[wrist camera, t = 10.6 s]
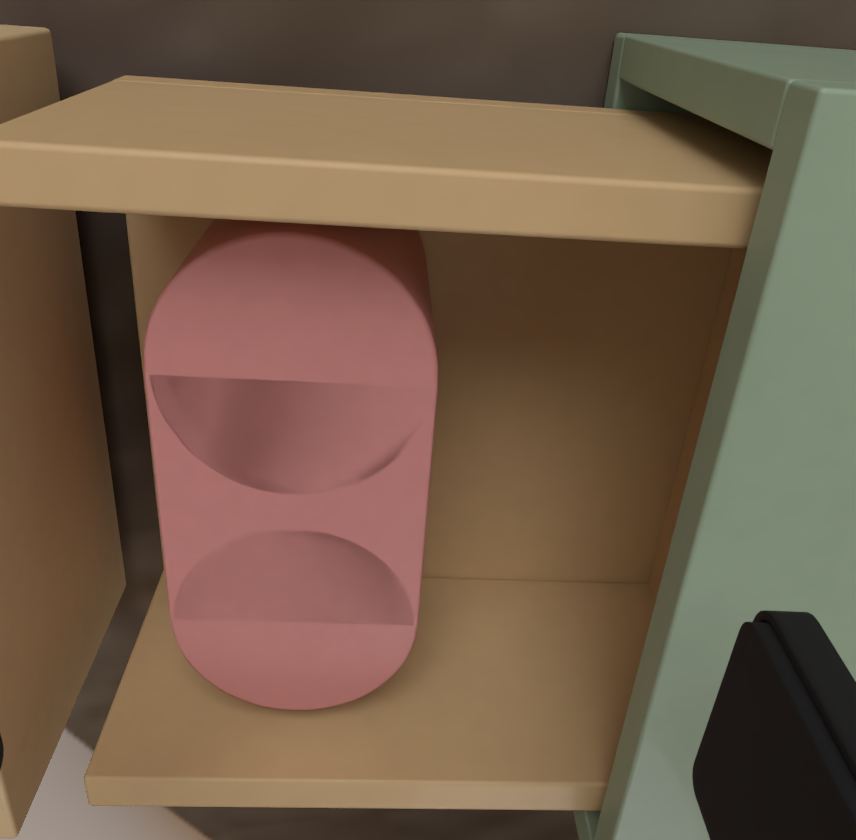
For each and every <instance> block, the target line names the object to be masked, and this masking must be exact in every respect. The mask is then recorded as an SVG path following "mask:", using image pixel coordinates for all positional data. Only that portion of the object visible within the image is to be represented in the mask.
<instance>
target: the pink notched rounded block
mask: <svg viewBox="0 0 856 840" xmlns="http://www.w3.org/2000/svg"><path fill="white" fill-rule="evenodd" d="M143 356H144V379H145V389H146V398H147V408H148V417H149V426H150V436H151V445H152V455H153V464H154V473H155V483H156V492H157V502H158V511H159V520H160V530H161V539H162V549H163V558H164V567H165V577H166V586H167V596H168V605H169V614H170V619H171V624H172V630H173V633H174V636H175V639H176V642H177V644H178V646H179V648H180V650H181V652H182V653H183V655H184V657H185V658H186V659H187V661H188V662H189V663H190V665H191V666H192V667H193V668H194V669H195V670H196V671H197V672H198V673H199V674H200V675H201V676H202V677H203V678H205V679H206V680H207V681H209V682H210V683H211V684H212V685H214V686H216V687H217V688H219V689H220V690H222V691H224V692H225V693H228V694H230V695H232V696H234V697H236V698H238V699H241V700H244V701H246V702H249V703H252V704H256V705H260V706H264V707H269V708H275V709H282V710H315V709H323V708H329V707H333V706H338V705H342V704H345V703H348V702H351V701H354V700H356V699H358V698H360V697H363V696H365V695H367V694H369V693H370V692H372V691H374V690H375V689H377V688H379V687H380V686H381V685H383V684H384V683H385V682H386V681H388V680H389V679H390V678H391V677H392V676H393V675H394V674H395V673H396V672H397V671H398V670H399V668H400V667H401V666H402V664H403V663H404V662H405V660H406V659H407V657H408V655H409V653H410V651H411V649H412V647H413V644H414V641H415V638H416V635H417V629H418V622H419V610H420V598H421V586H422V574H423V562H424V550H425V538H426V526H427V514H428V502H429V490H430V478H431V466H432V454H433V442H434V430H435V418H436V406H437V394H438V374H439V363H438V355H437V347H436V338H435V330H434V322H433V313H432V305H431V297H430V288H429V280H428V271H427V264H426V256H425V252H424V248H423V245H422V241H421V239H420V236H419V234H418V232H417V230H406V229H388V228H371V227H354V226H336V225H319V224H301V223H284V222H266V221H249V220H231V219H214V220H213V221H212V223H211V224H210V225H209V227H208V228H207V230H206V231H205V232H204V234H203V235H202V237H201V238H200V239H199V241H198V242H197V244H196V245H195V246H194V248H193V249H192V250H191V252H190V253H189V255H188V256H187V257H186V259H185V260H184V262H183V263H182V264H181V266H180V267H179V269H178V270H177V271H176V273H175V274H174V275H173V277H172V278H171V280H170V281H169V282H168V284H167V285H166V287H165V288H164V290H163V291H162V293H161V295H160V296H159V298H158V299H157V301H156V304H155V306H154V308H153V310H152V313H151V315H150V318H149V322H148V325H147V329H146V332H145V340H144V349H143Z"/></svg>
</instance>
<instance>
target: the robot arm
mask: <svg viewBox="0 0 856 840" xmlns="http://www.w3.org/2000/svg"><path fill="white" fill-rule="evenodd" d="M3 756H4V747H3V741H2V737H1V734H0V770H1V766H2V762H3ZM692 779H693V788H694V793H695V796H696V800H697V802H698V805H699V808H700V811H701V814H702V817H703V820H704V823H705V826H706V829H707V832H708V835H709V838H710V840H856V681H855V680H854V678H853V677H852V675H851V673H850V672H849V670H848V668H847V667H846V665H845V664H844V662H843V660H842V659H841V657H840V656H839V654H838V652H837V651H836V649H835V647H834V646H833V644H832V643H831V641H830V639H829V638H828V636H827V634H826V633H825V631H824V630H823V628H822V626H821V625H820V623H819V622H818V620H817V619H816V618H815V617H814V615H812V614H810V613H808V612H794V611H768V610H764V611H760V612H759V613H757V614H756V616H755V618H754V620H753V622H745V623H743V624H742V626H741V628H740V630H739V633H738V636H737V639H736V642H735V644H734V647H733V650H732V653H731V656H730V659H729V662H728V665H727V668H726V671H725V674H724V677H723V679H722V682H721V685H720V688H719V691H718V694H717V697H716V700H715V703H714V706H713V709H712V712H711V714H710V717H709V720H708V723H707V726H706V729H705V732H704V735H703V738H702V741H701V744H700V747H699V749H698V752H697V755H696V758H695V761H694V765H693V772H692Z"/></svg>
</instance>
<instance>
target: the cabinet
mask: <svg viewBox="0 0 856 840" xmlns="http://www.w3.org/2000/svg"><path fill="white" fill-rule="evenodd" d="M604 108H611V109H626V110H640V111H655V112H669V113H684V114H696V115H698V116H701V117H703V118H705V119H707V120H709V121H711V122H713V123H716V124H718V125H720V126H722V127H724V128H726V129H728V130H731V131H733V132H735V133H737V134H739V135H741V136H743V137H746V138H748V139H750V140H752V141H754V142H756V143H758V144H761V145H763V146H765V147H767V148H769V149H771V150H773V152H772V156H771V160H770V164H769V167H768V171H767V175H766V179H765V183H764V187H763V191H762V194H761V198H760V202H759V206H758V210H757V214H756V217H755V221H754V225H753V229H752V233H751V237H750V240H749V244H748V248H747V252H746V256H745V260H744V264H743V267H742V271H741V275H740V279H739V283H738V287H737V290H736V294H735V298H734V302H733V306H732V310H731V313H730V317H729V321H728V325H727V329H726V333H725V337H724V340H723V344H722V348H721V352H720V356H719V360H718V363H717V367H716V371H715V375H714V379H713V383H712V386H711V390H710V394H709V398H708V402H707V406H706V410H705V413H704V417H703V421H702V425H701V429H700V433H699V436H698V440H697V444H696V448H695V452H694V456H693V459H692V463H691V467H690V471H689V475H688V479H687V483H686V486H685V490H684V494H683V498H682V502H681V506H680V509H679V513H678V517H677V521H676V525H675V529H674V533H673V536H672V540H671V544H670V548H669V552H668V556H667V559H666V563H665V567H664V571H663V575H662V579H661V582H660V586H659V590H658V594H657V598H656V602H655V606H654V609H653V613H652V617H651V621H650V625H649V629H648V632H647V636H646V640H645V644H644V648H643V652H642V655H641V659H640V663H639V667H638V671H637V675H636V679H635V682H634V686H633V690H632V694H631V698H630V702H629V705H628V709H627V713H626V717H625V721H624V725H623V728H622V732H621V736H620V740H619V744H618V748H617V752H616V755H615V759H614V763H613V767H612V771H611V775H610V778H609V782H608V786H607V790H606V794H605V798H604V802H603V805H602V809H601V811H592V810H573V813H574V818H575V823H576V827H577V832H578V836H579V840H710V838H709V835H708V832H707V829H706V826H705V823H704V820H703V817H702V814H701V811H700V808H699V805H698V802H697V800H696V796H695V793H694V788H693V779H692V772H693V765H694V761H695V758H696V755H697V752H698V749H699V747H700V744H701V741H702V738H703V735H704V732H705V729H706V726H707V723H708V720H709V717H710V714H711V712H712V709H713V706H714V703H715V700H716V697H717V694H718V691H719V688H720V685H721V682H722V679H723V677H724V674H725V671H726V668H727V665H728V662H729V659H730V656H731V653H732V650H733V647H734V644H735V642H736V639H737V636H738V633H739V630H740V628H741V626H742V624H743V623H745V622H753V620H754V618H755V616H756V614H757V613H759V612H760V611H764V610H768V611H794V612H808V613H810V614H812V615H814V617H815V618H816V619H817V620H818V622H819V623H820V625H821V626H822V628H823V630H824V631H825V633H826V634H827V636H828V638H829V639H830V641H831V643H832V644H833V646H834V647H835V649H836V651H837V652H838V654H839V656H840V657H841V659H842V660H843V662H844V664H845V665H846V667H847V668H848V670H849V672H850V673H851V675H852V677H853V678H854V680H855V681H856V50H846V49H832V48H819V47H806V46H792V45H779V44H765V43H752V42H739V41H725V40H712V39H699V38H685V37H672V36H658V35H645V34H632V33H618V34H617V35H616V37H615V42H614V48H613V54H612V60H611V66H610V73H609V79H608V85H607V91H606V97H605V104H604Z"/></svg>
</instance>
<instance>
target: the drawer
mask: <svg viewBox="0 0 856 840" xmlns="http://www.w3.org/2000/svg"><path fill="white" fill-rule="evenodd" d="M772 152H773V150H771V149H769V148H767V147H765V146H763V145H761V144H758V143H756V142H754V141H752V140H750V139H748V138H746V137H743V136H741V135H739V134H737V133H735V132H733V131H731V130H728V129H726V128H724V127H722V126H720V125H718V124H716V123H713V122H711V121H709V120H707V119H705V118H703V117H701V116H698V115H696V114H684V113H669V112H655V111H640V110H626V109H611V108H596V107H582V106H567V105H552V104H538V103H523V102H509V101H494V100H479V99H465V98H450V97H435V96H421V95H406V94H392V93H377V92H362V91H348V90H333V89H318V88H304V87H289V86H275V85H260V84H245V83H231V82H216V81H201V80H187V79H172V78H158V77H143V76H128V75H125V76H122V77H120V78H117V79H115V80H112V81H111V82H108V83H106V84H103V85H100V86H98V87H95V88H93V89H90V90H88V91H85V92H82V93H80V94H77V95H75V96H72V97H69V98H67V99H64V100H62V101H60V95H59V87H58V80H57V73H56V65H55V58H54V51H53V43H52V36H51V32H50V30H49V29H47V28H42V27H28V26H14V25H0V734H1V737H2V741H3V747H4V756H3V762H2V766H1V770H0V838H15V837H16V836H17V835H18V834H19V831H20V829H21V827H22V824H23V822H24V820H25V818H26V815H27V813H28V811H29V808H30V806H31V804H32V801H33V799H34V797H35V794H36V792H37V790H38V788H39V785H40V783H41V781H42V778H43V776H44V774H45V771H46V769H47V767H48V764H49V762H50V759H51V758H52V755H53V753H54V751H55V748H56V746H57V744H58V741H59V739H60V737H61V734H62V732H63V730H64V728H65V725H66V723H67V721H68V718H69V716H70V714H71V711H72V709H73V707H74V704H75V702H76V700H77V698H78V695H79V693H80V691H81V688H82V686H83V684H84V681H85V679H86V677H87V674H88V672H89V670H90V668H91V665H92V663H93V661H94V658H95V656H96V654H97V651H98V649H99V647H100V644H101V642H102V640H103V638H104V635H105V633H106V631H107V628H108V626H109V624H110V621H111V619H112V617H113V614H114V612H115V610H116V608H117V605H118V603H119V601H120V598H121V596H122V594H123V591H124V589H125V587H126V579H125V571H124V564H123V557H122V549H121V542H120V535H119V527H118V520H117V513H116V505H115V498H114V491H113V483H112V476H111V469H110V461H109V454H108V447H107V439H106V432H105V425H104V417H103V410H102V403H101V395H100V388H99V381H98V373H97V366H96V359H95V351H94V344H93V337H92V329H91V322H90V315H89V307H88V300H87V293H86V285H85V278H84V271H83V263H82V256H81V249H80V241H79V234H78V227H77V219H76V212H75V211H92V212H109V213H126V223H127V232H128V241H129V251H130V260H131V269H132V278H133V288H134V297H135V306H136V316H137V325H138V334H139V344H140V353H141V362H142V372H143V381H144V390H145V400H146V409H147V418H148V428H149V437H150V446H151V455H152V445H151V436H150V426H149V417H148V408H147V398H146V389H145V379H144V356H143V349H144V340H145V332H146V329H147V325H148V322H149V318H150V315H151V313H152V310H153V308H154V306H155V304H156V301H157V299H158V298H159V296H160V295H161V293H162V291H163V290H164V288H165V287H166V285H167V284H168V282H169V281H170V280H171V278H172V277H173V275H174V274H175V273H176V271H177V270H178V269H179V267H180V266H181V264H182V263H183V262H184V260H185V259H186V257H187V256H188V255H189V253H190V252H191V250H192V249H193V248H194V246H195V245H196V244H197V242H198V241H199V239H200V238H201V237H202V235H203V234H204V232H205V231H206V230H207V228H208V227H209V225H210V224H211V223H212V221H213V220H214V219H231V220H249V221H266V222H284V223H301V224H319V225H336V226H354V227H371V228H388V229H406V230H417V232H418V234H419V236H420V239H421V241H422V245H423V248H424V252H425V256H426V264H427V271H428V280H429V288H430V297H431V305H432V313H433V322H434V330H435V338H436V347H437V355H438V363H439V374H438V394H437V406H436V418H435V430H434V442H433V454H432V466H431V478H430V490H429V502H428V514H427V526H426V538H425V550H424V562H423V574H422V586H421V598H420V610H419V622H418V629H417V635H416V638H415V641H414V644H413V647H412V649H411V651H410V653H409V655H408V657H407V659H406V660H405V662H404V663H403V664H402V666H401V667H400V668H399V670H398V671H397V672H396V673H395V674H394V675H393V676H392V677H391V678H390V679H389V680H388V681H386V682H385V683H384V684H383V685H381V686H380V687H379V688H377V689H375V690H374V691H372V692H370V693H369V694H367V695H365V696H363V697H360V698H358V699H356V700H354V701H351V702H348V703H345V704H342V705H338V706H333V707H329V708H323V709H315V710H282V709H275V708H269V707H264V706H260V705H256V704H252V703H249V702H246V701H244V700H241V699H238V698H236V697H234V696H232V695H230V694H228V693H225V692H224V691H222V690H220V689H219V688H217V687H216V686H214V685H212V684H211V683H210V682H209V681H207V680H206V679H205V678H203V677H202V676H201V675H200V674H199V673H198V672H197V671H196V670H195V669H194V668H193V667H192V666H191V665H190V663H189V662H188V661H187V659H186V658H185V657H184V655H183V653H182V652H181V650H180V648H179V646H178V644H177V642H176V639H175V636H174V633H173V630H172V624H171V619H170V614H169V605H168V596H167V586H166V577H165V567H164V558H163V549H162V539H161V530H160V520H159V511H158V502H157V492H156V483H155V473H154V464H153V455H152V465H153V474H154V483H155V493H156V502H157V511H158V521H159V530H160V539H161V549H162V558H163V567H164V571H163V572H162V575H161V577H160V580H159V583H158V585H157V588H156V591H155V593H154V596H153V598H152V601H151V604H150V606H149V609H148V611H147V614H146V617H145V619H144V622H143V625H142V627H141V630H140V632H139V635H138V638H137V640H136V643H135V645H134V648H133V651H132V653H131V656H130V659H129V661H128V664H127V666H126V669H125V672H124V674H123V677H122V679H121V682H120V685H119V687H118V690H117V693H116V695H115V698H114V700H113V703H112V706H111V708H110V711H109V713H108V716H107V719H106V721H105V724H104V727H103V729H102V732H101V734H100V737H99V740H98V742H97V745H96V747H95V750H94V753H93V755H92V758H91V761H90V763H89V766H88V769H87V771H86V774H85V776H84V782H85V787H86V793H87V798H88V803H89V804H90V805H93V806H94V805H95V806H190V807H291V808H391V809H491V810H592V811H601V809H602V805H603V802H604V798H605V794H606V790H607V786H608V782H609V778H610V775H611V771H612V767H613V763H614V759H615V755H616V752H617V748H618V744H619V740H620V736H621V732H622V728H623V725H624V721H625V717H626V713H627V709H628V705H629V702H630V698H631V694H632V690H633V686H634V682H635V679H636V675H637V671H638V667H639V663H640V659H641V655H642V652H643V648H644V644H645V640H646V636H647V632H648V629H649V625H650V621H651V617H652V613H653V609H654V606H655V602H656V598H657V594H658V590H659V586H660V582H661V579H662V575H663V571H664V567H665V563H666V559H667V556H668V552H669V548H670V544H671V540H672V536H673V533H674V529H675V525H676V521H677V517H678V513H679V509H680V506H681V502H682V498H683V494H684V490H685V486H686V483H687V479H688V475H689V471H690V467H691V463H692V459H693V456H694V452H695V448H696V444H697V440H698V436H699V433H700V429H701V425H702V421H703V417H704V413H705V410H706V406H707V402H708V398H709V394H710V390H711V386H712V383H713V379H714V375H715V371H716V367H717V363H718V360H719V356H720V352H721V348H722V344H723V340H724V337H725V333H726V329H727V325H728V321H729V317H730V313H731V310H732V306H733V302H734V298H735V294H736V290H737V287H738V283H739V279H740V275H741V271H742V267H743V264H744V260H745V256H746V252H747V248H748V244H749V240H750V237H751V233H752V229H753V225H754V221H755V217H756V214H757V210H758V206H759V202H760V198H761V194H762V191H763V187H764V183H765V179H766V175H767V171H768V167H769V164H770V160H771V156H772Z"/></svg>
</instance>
